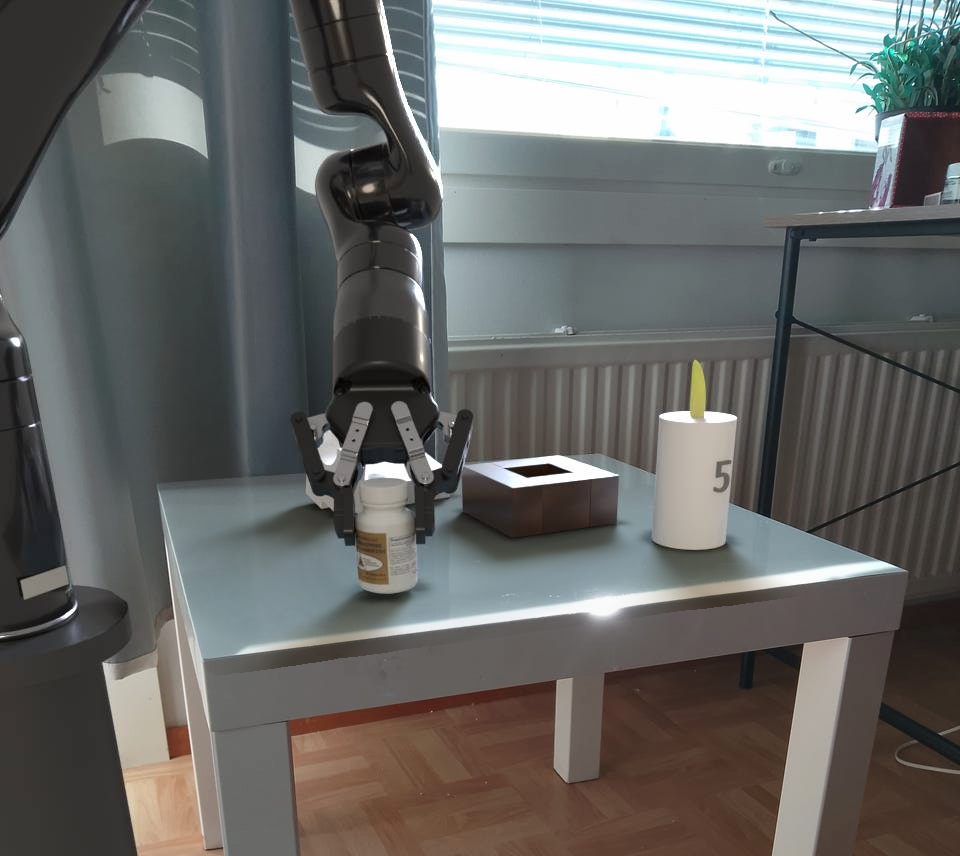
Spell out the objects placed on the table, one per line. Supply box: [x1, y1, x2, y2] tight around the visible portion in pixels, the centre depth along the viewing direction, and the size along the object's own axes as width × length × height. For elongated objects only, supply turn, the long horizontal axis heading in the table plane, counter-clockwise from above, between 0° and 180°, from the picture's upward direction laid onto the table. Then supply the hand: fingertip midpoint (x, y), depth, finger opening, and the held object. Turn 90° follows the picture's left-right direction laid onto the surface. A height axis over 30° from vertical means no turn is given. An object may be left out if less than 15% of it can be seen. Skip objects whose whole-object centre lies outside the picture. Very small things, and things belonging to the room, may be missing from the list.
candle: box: [651, 359, 738, 551], centre depth 78 cm, size 6×6×15 cm
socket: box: [461, 454, 620, 539], centre depth 88 cm, size 11×11×4 cm
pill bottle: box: [355, 478, 418, 595], centre depth 68 cm, size 4×4×8 cm
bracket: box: [305, 430, 452, 514], centre depth 94 cm, size 13×7×8 cm, turn 125°
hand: (385, 538), depth 66 cm, fingers closed on pill bottle, 4 cm apart
